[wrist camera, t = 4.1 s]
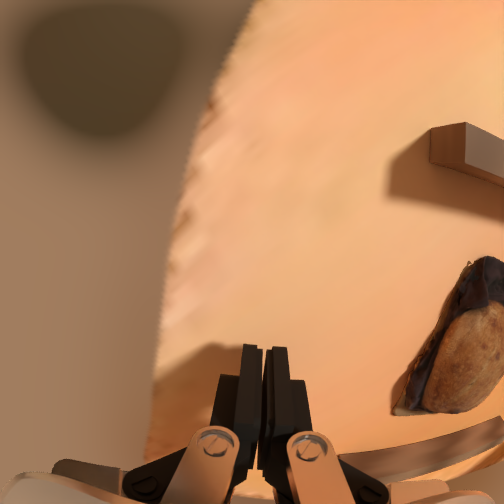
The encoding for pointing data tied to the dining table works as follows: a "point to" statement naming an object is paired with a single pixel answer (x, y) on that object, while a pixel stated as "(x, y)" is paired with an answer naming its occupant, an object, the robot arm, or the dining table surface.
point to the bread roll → (461, 347)
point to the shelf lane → (487, 433)
